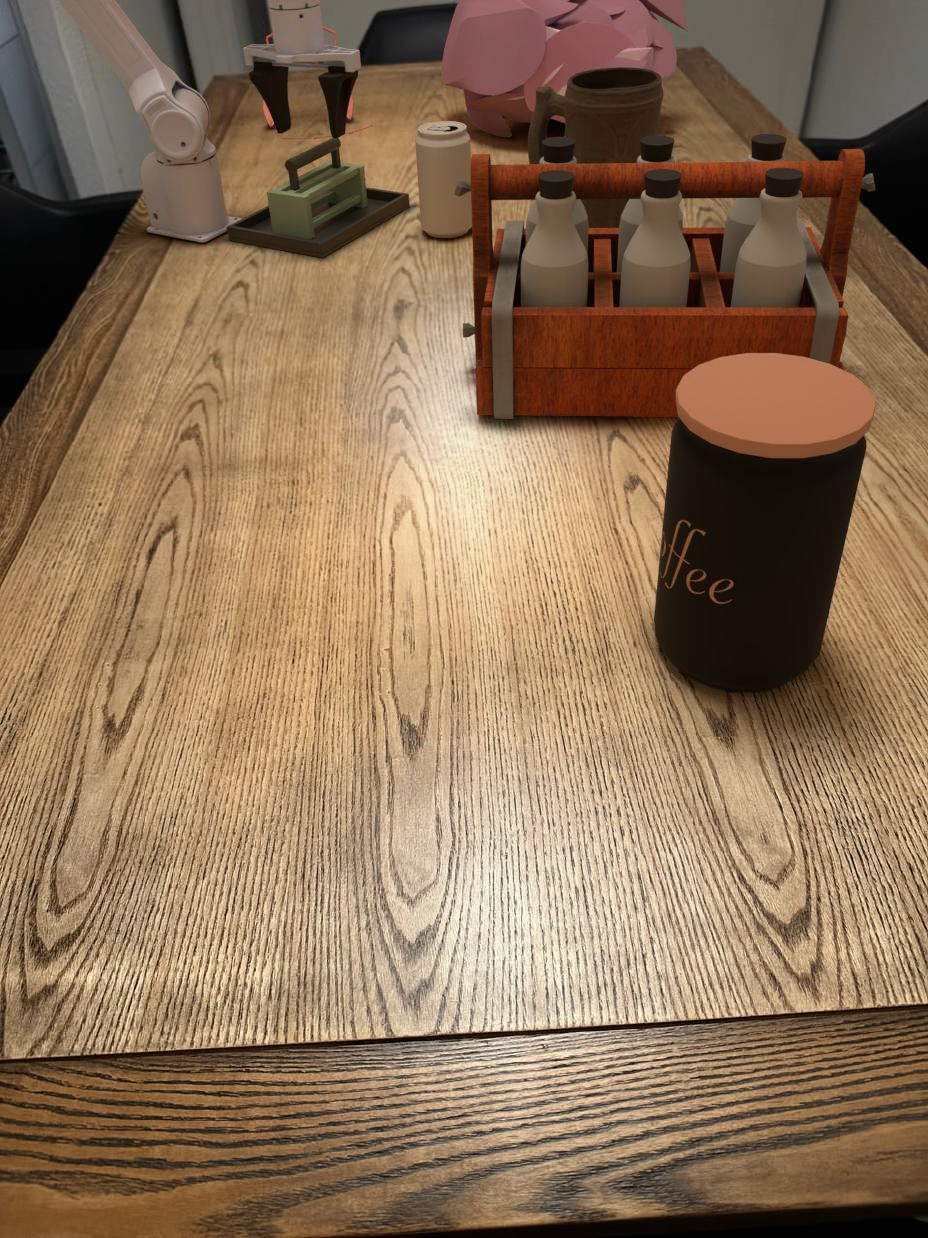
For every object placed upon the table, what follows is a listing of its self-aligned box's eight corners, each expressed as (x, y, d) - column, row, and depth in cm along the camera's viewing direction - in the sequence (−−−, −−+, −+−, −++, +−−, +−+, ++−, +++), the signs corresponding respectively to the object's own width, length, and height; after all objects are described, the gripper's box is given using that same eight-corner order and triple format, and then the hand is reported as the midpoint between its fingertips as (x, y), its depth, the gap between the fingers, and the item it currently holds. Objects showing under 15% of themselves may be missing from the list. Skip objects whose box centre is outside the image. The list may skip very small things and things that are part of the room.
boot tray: (228, 240, 131) (226, 226, 130) (320, 192, 144) (318, 179, 143) (323, 258, 126) (321, 243, 124) (409, 206, 138) (408, 193, 137)
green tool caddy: (272, 233, 131) (261, 160, 126) (331, 200, 140) (323, 131, 134) (310, 239, 129) (300, 166, 124) (368, 205, 138) (361, 135, 132)
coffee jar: (636, 600, 74) (656, 358, 62) (789, 587, 74) (835, 345, 63) (673, 707, 66) (703, 452, 54) (844, 692, 66) (909, 435, 55)
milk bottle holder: (471, 321, 110) (464, 120, 98) (820, 322, 107) (858, 114, 95) (451, 422, 94) (440, 197, 82) (862, 427, 91) (914, 193, 79)
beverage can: (467, 241, 128) (464, 134, 120) (415, 239, 129) (408, 133, 121) (478, 222, 133) (474, 119, 125) (427, 220, 134) (421, 118, 126)
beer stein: (673, 256, 122) (677, 61, 109) (645, 292, 114) (645, 87, 102) (547, 249, 128) (537, 64, 115) (512, 283, 120) (497, 88, 108)
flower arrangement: (653, 139, 173) (678, -68, 160) (693, 150, 153) (724, -86, 140) (437, 129, 170) (444, -83, 157) (448, 139, 149) (456, -104, 136)
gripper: (220, 9, 120) (242, 138, 129) (332, 14, 115) (347, 147, 124) (255, -3, 125) (273, 122, 134) (364, 1, 120) (376, 130, 129)
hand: (311, 133), depth 129 cm, fingers open, 7 cm apart
